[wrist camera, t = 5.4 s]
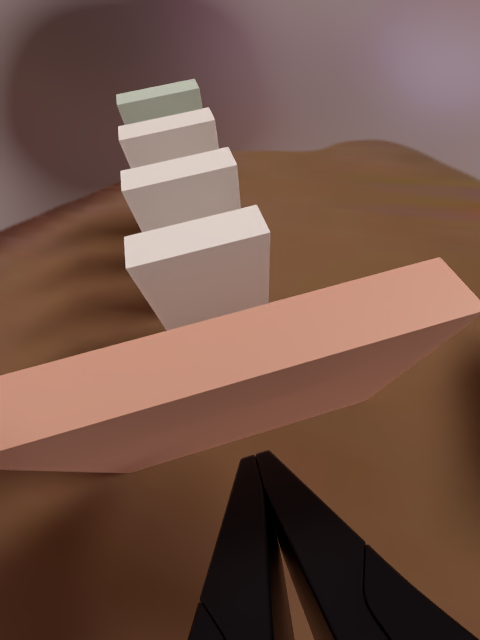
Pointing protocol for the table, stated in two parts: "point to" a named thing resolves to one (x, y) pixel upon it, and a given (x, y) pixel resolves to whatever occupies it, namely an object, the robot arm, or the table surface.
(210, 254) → the ivory domino
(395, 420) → the table surface
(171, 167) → the ivory domino
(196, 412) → the terracotta tile
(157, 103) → the sage domino
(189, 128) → the ivory domino
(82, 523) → the table surface
